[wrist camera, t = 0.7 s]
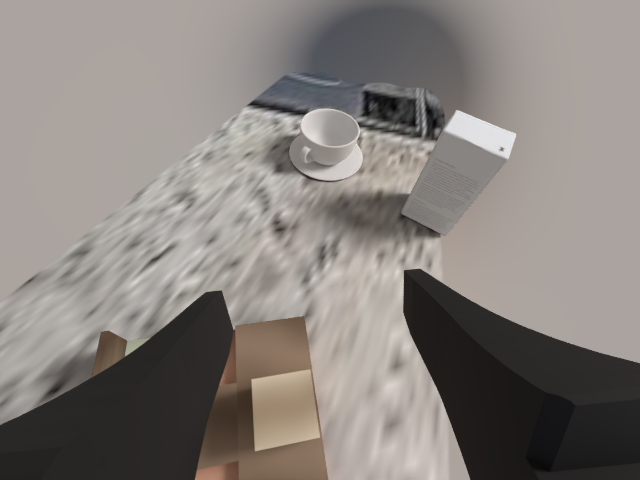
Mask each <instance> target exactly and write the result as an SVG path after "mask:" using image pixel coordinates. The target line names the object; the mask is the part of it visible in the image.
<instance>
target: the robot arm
mask: <svg viewBox="0 0 640 480" xmlns="http://www.w3.org/2000/svg"><path fill="white" fill-rule="evenodd" d="M403 313H404V316H405V319H406V322H407V325H408V328H409V331H410V334H411V336H412V338H413V340H414V342H415V344H416V347H417V349H418V351H419V353H420V355H421V357H422V359H423V361H424V363H425V365H426V367H427V369H428V371H429V373H430V375H431V377H432V379H433V381H434V383H435V385H436V387H437V390H438V392H439V394H440V396H441V399H442V401H443V404H444V407H445V409H446V412H447V415H448V417H449V420H450V423H451V425H452V428H453V431H454V433H455V436H456V439H457V442H458V445H459V447H460V450H461V453H462V456H463V459H464V462H465V465H466V467H467V471H468V474H469V476H470V480H640V363H637V362H633V361H629V360H625V359H621V358H617V357H613V356H610V355H606V354H602V353H598V352H595V351H592V350H588V349H586V348H582V347H579V346H576V345H573V344H570V343H567V342H564V341H560V340H558V339H555V338H552V337H549V336H547V335H544V334H542V333H539V332H536V331H534V330H531V329H528V328H526V327H523V326H521V325H519V324H517V323H514V322H512V321H510V320H508V319H505V318H503V317H501V316H499V315H497V314H495V313H493V312H491V311H489V310H487V309H485V308H483V307H481V306H479V305H478V304H476V303H474V302H472V301H470V300H469V299H467V298H465V297H464V296H462V295H460V294H459V293H457V292H455V291H454V290H452V289H451V288H449V287H448V286H446V285H444V284H443V283H441V282H440V281H438V280H437V279H435V278H434V277H432V276H431V275H429V274H428V273H426V272H424V271H423V270H421V269H412V270H404V306H403ZM232 337H233V327H232V324H231V320H230V317H229V314H228V310H227V307H226V304H225V300H224V297H223V293H222V290H221V291H212V292H206V293H204V294H203V295H202V296H201V297H199V298H198V299H197V300H196V301H194V302H193V303H192V304H191V305H190V306H189V307H187V308H186V309H185V310H184V311H183V312H182V313H180V314H179V315H178V316H177V317H176V318H175V319H173V320H172V321H171V322H170V323H169V324H168V325H166V326H165V327H164V328H163V329H161V330H160V331H159V332H157V333H156V334H155V335H154V336H152V337H151V338H150V339H149V340H147V341H146V342H145V343H143V344H142V345H141V346H139V347H138V348H137V349H135V350H134V351H132V352H131V353H130V354H128V355H127V356H125V357H124V358H122V359H121V360H119V361H118V362H116V363H115V364H113V365H112V366H110V367H109V368H107V369H105V370H104V371H102V372H100V373H99V374H97V375H95V376H94V377H92V378H90V379H89V380H87V381H85V382H84V383H82V384H80V385H79V386H77V387H75V388H73V389H72V390H70V391H68V392H66V393H64V394H62V395H60V396H59V397H57V398H55V399H53V400H51V401H49V402H47V403H45V404H43V405H41V406H39V407H37V408H35V409H33V410H31V411H29V412H27V413H25V414H23V415H21V416H19V417H17V418H14V419H12V420H10V421H8V422H6V423H4V424H1V425H0V480H195V477H196V472H197V467H198V462H199V457H200V452H201V448H202V443H203V439H204V435H205V430H206V426H207V422H208V418H209V415H210V411H211V408H212V405H213V402H214V399H215V396H216V393H217V390H218V387H219V384H220V381H221V378H222V375H223V372H224V369H225V366H226V363H227V360H228V357H229V353H230V348H231V343H232Z"/></svg>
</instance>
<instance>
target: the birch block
mask: <svg viewBox="0 0 640 480" xmlns="http://www.w3.org/2000/svg"><path fill="white" fill-rule="evenodd" d="M251 380H252V401H253V422H254V442H255V451H259V450H264V449H269V448H273V447H278V446H283V445H288V444H292V443H297V442H302V441H306V440H311V439H316V438H320V433H319V426H318V419H317V412H316V405H315V398H314V391H313V384H312V377H311V370H310V369H309V370H303V371H297V372H292V373H286V374H280V375H274V376H268V377H262V378H257V379H251Z"/></svg>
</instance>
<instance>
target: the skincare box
mask: <svg viewBox="0 0 640 480" xmlns="http://www.w3.org/2000/svg"><path fill="white" fill-rule="evenodd" d="M515 138H516V134H515V133H512V132H510V131H507V130H504V129H502V128H499V127H497V126H494V125H492V124H489V123H487V122H485V121H482V120H480V119H478V118H475V117H473V116H470V115H468V114H465V113H463V112H460V111H458V110H456V111H455V113H454V114H453V115H452V117H451V118H450V120H449V121H448V123H447V124H446V126H445V127H444V129H443V130H442V132H441V134H440V136H439V138H438V140H437V142H436V144H435V146H434V148H433V150H432V152H431V154H430V156H429V158H428V160H427V162H426V164H425V166H424V168H423V170H422V172H421V174H420V176H419V178H418V180H417V182H416V184H415V185H414V187H413V189H412V191H411V193H410V195H409V197H408V199H407V201H406V203H405V205H404V207H403V209H402V211H401V214H403V215H405V216H407V217H409V218H411V219H413V220H415V221H416V222H418V223H420V224H422V225H424V226H426V227H428V228H430V229H432V230H434V231H436V232H438V233H440V234H442V235H444V236H446V235H447V234H448V233H449V232H450V231H451V229H452V228H453V227H454V226H455V224H456V223H457V222H458V221H459V220H460V218H461V217H462V216H463V215H464V213H465V212H466V211H467V210H468V209H469V207H470V206H471V205H472V204H473V202H474V201H475V200H476V199H477V197H478V196H479V195H480V194H481V192H482V191H483V190H484V189H485V188H486V186H487V185H488V184H489V182H490V181H491V180H492V179H493V178H494V176H495V175H496V174H497V173H498V171H499V170H500V169H501V168H502V166H503V165H504V164H505V163H506V162H507V161H508V159H509V156H510V153H511V150H512V146H513V144H514V141H515Z"/></svg>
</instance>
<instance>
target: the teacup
mask: <svg viewBox="0 0 640 480" xmlns="http://www.w3.org/2000/svg"><path fill="white" fill-rule="evenodd" d="M300 132H301V134H300V135H299V136H297V137H296V138H295V139H294V140H293V142H292V143H291V145H290V148H289V156H290V159H291V161H292V163H293V164H294V166H295V167H296V168H297V169H298V170H299V171H301V172H302V173H304V174H305V175H307V176H309V177H312V178H315V179H319V180H325V181H335V180H341V179H345V178H347V177H350V176H351V175H353V174H354V173H356V172H357V171H358V169H359V168H360V166H361V164H362V159H363V157H362V152H361V150H360V148H359V146H358V145H357V144H356V142H357V139H358V137H359V133H360V130H359V126H358V124H357V122H356V121H355V120H354V119H353V118H352V117H351V116H349V115H348V114H346V113H344V112H341V111H338V110H334V109H317V110H314V111H311V112H309V113H307V114H306V115H305V116H304V117H303V118H302V120H301V123H300Z"/></svg>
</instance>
